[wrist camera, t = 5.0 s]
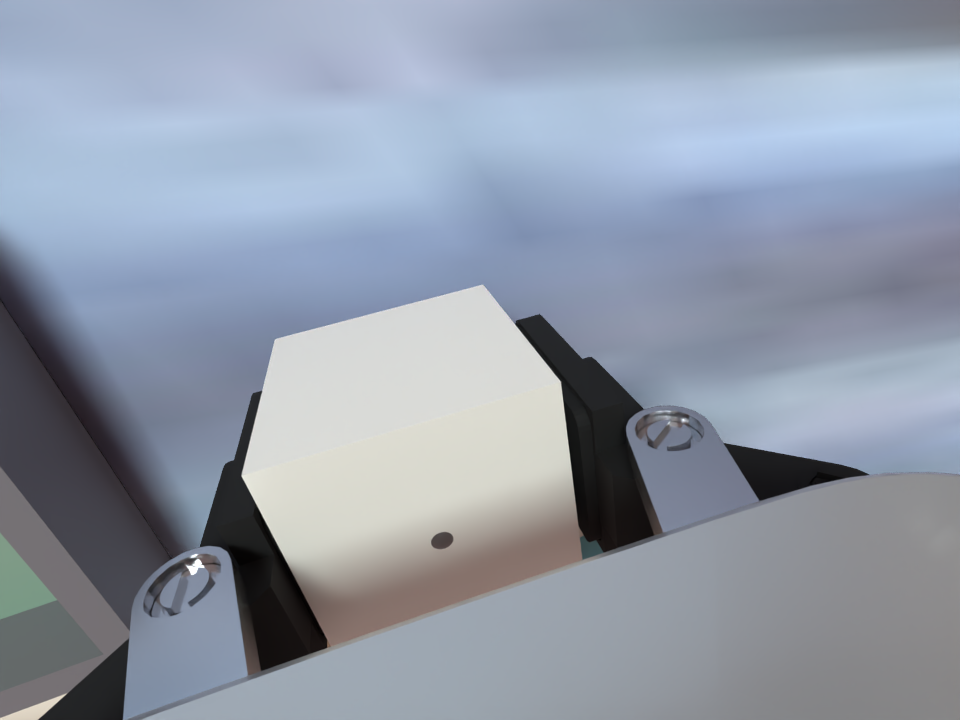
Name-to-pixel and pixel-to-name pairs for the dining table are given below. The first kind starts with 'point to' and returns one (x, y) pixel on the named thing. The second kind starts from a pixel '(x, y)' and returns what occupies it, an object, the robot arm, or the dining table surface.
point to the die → (412, 461)
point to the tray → (59, 538)
